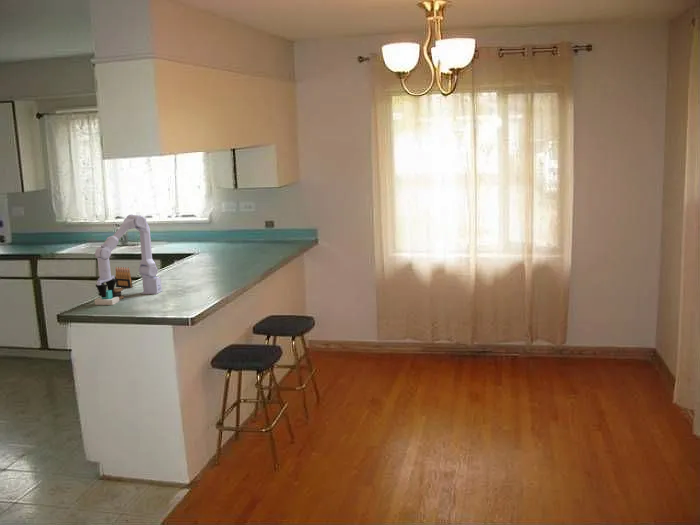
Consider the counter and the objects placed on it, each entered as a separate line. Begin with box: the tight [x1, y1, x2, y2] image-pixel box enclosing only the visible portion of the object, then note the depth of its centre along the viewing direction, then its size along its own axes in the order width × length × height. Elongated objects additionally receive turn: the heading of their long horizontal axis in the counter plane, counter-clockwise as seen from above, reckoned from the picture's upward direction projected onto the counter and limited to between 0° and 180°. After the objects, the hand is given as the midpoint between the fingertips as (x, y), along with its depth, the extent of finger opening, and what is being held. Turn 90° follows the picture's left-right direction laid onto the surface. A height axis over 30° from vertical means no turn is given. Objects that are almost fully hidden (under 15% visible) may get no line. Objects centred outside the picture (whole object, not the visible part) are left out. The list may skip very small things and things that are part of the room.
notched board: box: [94, 296, 120, 306], centre depth 363 cm, size 10×7×2 cm
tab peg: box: [102, 289, 113, 299], centre depth 363 cm, size 4×4×6 cm
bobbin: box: [112, 287, 125, 300], centre depth 372 cm, size 7×7×5 cm
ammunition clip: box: [115, 266, 134, 289], centre depth 397 cm, size 11×2×12 cm, turn 66°
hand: (107, 295), depth 363 cm, fingers open, 7 cm apart
